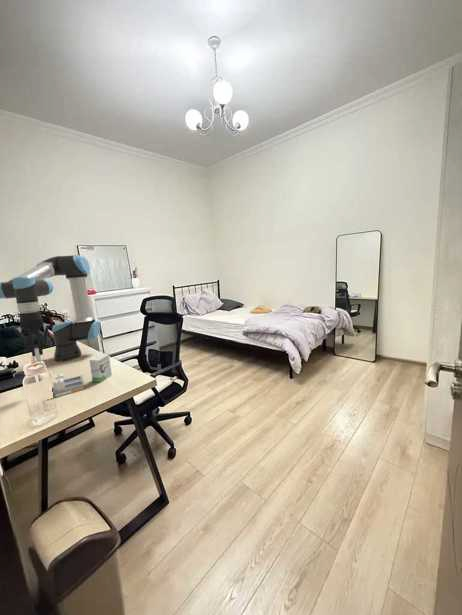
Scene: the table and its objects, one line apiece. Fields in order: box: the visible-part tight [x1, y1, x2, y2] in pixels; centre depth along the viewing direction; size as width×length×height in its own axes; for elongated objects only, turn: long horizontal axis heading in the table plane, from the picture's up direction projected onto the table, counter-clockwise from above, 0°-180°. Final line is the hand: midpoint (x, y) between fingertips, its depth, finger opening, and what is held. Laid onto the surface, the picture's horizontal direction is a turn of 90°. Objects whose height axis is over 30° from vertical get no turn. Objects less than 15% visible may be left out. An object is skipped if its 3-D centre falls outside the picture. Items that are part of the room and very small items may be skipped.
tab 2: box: [54, 378, 65, 391], centre depth 115 cm, size 4×3×5 cm
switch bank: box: [52, 375, 86, 398], centre depth 120 cm, size 13×12×2 cm
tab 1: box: [55, 372, 65, 384], centre depth 120 cm, size 4×3×5 cm
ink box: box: [89, 353, 113, 383], centre depth 127 cm, size 9×5×12 cm, turn 168°
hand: (39, 362), depth 115 cm, fingers closed
